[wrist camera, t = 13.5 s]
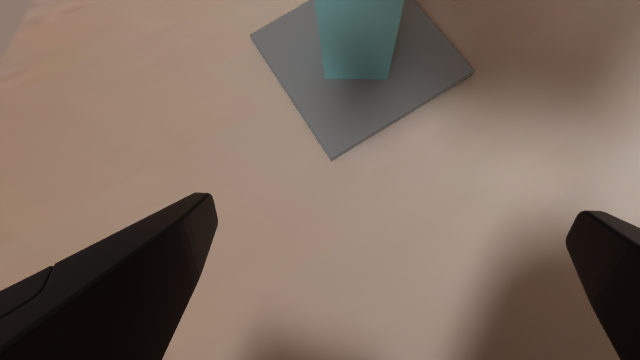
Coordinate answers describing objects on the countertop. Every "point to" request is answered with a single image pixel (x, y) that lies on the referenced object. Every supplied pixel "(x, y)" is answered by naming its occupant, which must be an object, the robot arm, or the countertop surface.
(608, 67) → the countertop surface
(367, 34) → the teal block
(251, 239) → the countertop surface
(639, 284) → the robot arm
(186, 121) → the countertop surface
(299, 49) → the slate mat
